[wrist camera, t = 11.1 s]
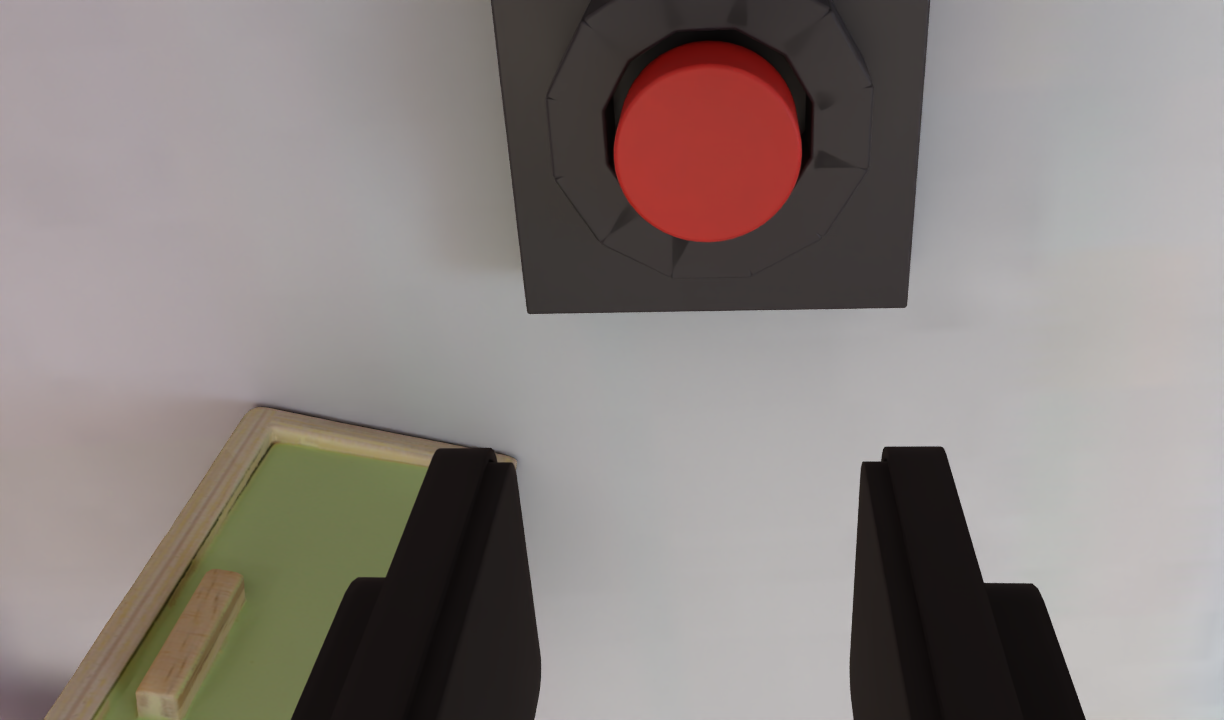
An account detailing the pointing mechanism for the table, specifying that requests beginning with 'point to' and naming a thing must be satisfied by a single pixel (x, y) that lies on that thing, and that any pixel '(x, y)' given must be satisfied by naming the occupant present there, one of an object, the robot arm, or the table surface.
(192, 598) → the toy refrigerator
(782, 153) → the button
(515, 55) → the box
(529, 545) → the table surface
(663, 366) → the table surface
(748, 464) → the table surface
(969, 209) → the table surface
